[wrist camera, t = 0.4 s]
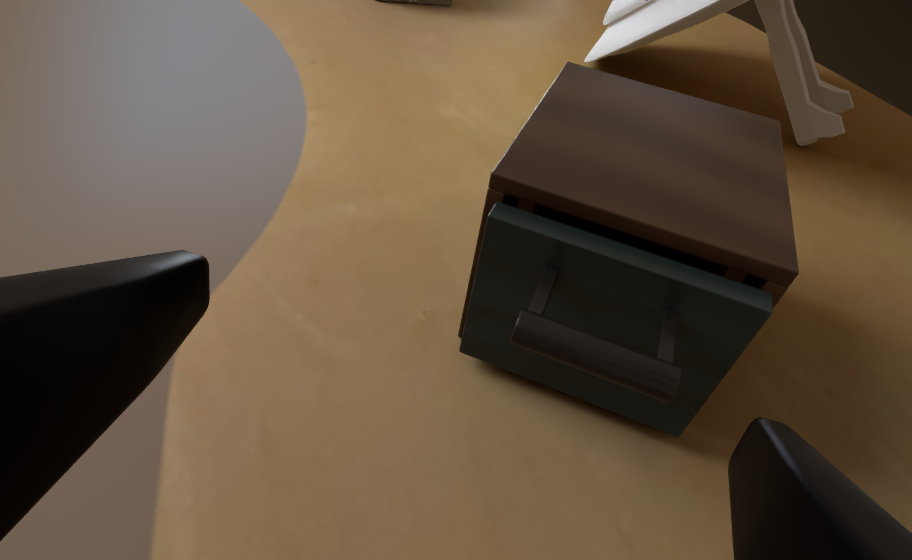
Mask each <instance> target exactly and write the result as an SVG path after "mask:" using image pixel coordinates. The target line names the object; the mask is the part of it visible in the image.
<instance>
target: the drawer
mask: <svg viewBox="0 0 912 560" xmlns="http://www.w3.org/2000/svg"><path fill="white" fill-rule="evenodd" d="M746 276H747V273H744V272H741V271H738V270H735V269H732V268H729V267H726V266H723V265H720V264H717V263H714V262H711V261H708V260H705V259H702V258H699V257H696V256H692V255H689V254H686V253H683V252H680V251H677V250H674V249H671V248H668V247H665V246H662V245H659V244H656V243H653V242H650V241H647V240H644V239H641V238H638V237H635V236H632V235H629V234H626V233H623V232H620V231H617V230H614V229H611V228H608V227H605V226H602V225H599V224H596V223H593V222H590V221H587V220H584V219H581V218H578V217H575V216H572V215H568V214H565V213H562V212H559V211H556V210H553V209H550V208H547V207H544V206H541V205H538V204H535V203H532V202H529V201H526V200H523V199H520V198H519V200H518V204H517V208H515V207H512V206H509V205H506V204H503V203H500V202H496V203H495V205H494V206H493V208H492V210H491V211H490V213H489V215H488V217H487V222H486V226H485V231H484V236H483V240H482V245H481V250H480V255H479V259H478V264H477V269H476V274H475V278H474V283H473V288H472V293H471V297H470V302H469V307H468V311H467V316H466V321H465V326H464V330H463V335H462V340H461V345H460V349H459V351H460V352H462V353H464V354H467V355H469V356H472V357H475V358H477V359H480V360H482V361H485V362H487V363H490V364H492V365H495V366H497V367H500V368H503V369H505V370H508V371H510V372H513V373H515V374H518V375H520V376H523V377H525V378H528V379H531V380H533V381H536V382H538V383H541V384H543V385H546V386H548V387H551V388H554V389H556V390H559V391H561V392H564V393H566V394H569V395H571V396H574V397H576V398H579V399H582V400H584V401H587V402H589V403H592V404H594V405H597V406H599V407H602V408H605V409H607V410H610V411H612V412H615V413H617V414H620V415H622V416H625V417H627V418H630V419H633V420H635V421H638V422H640V423H643V424H645V425H648V426H650V427H653V428H656V429H658V430H661V431H663V432H666V433H668V434H671V435H673V436H676V437H679V436H680V435H681V433H682V432H683V431H684V429H685V428H686V427H687V425H688V424H689V423H690V421H691V420H692V419H693V417H694V416H695V415H696V413H697V412H698V411H699V409H700V408H701V407H702V405H703V404H704V403H705V401H706V400H707V399H708V397H709V396H710V395H711V393H712V392H713V391H714V389H715V388H716V387H717V385H718V384H719V383H720V382H721V380H722V379H723V378H724V376H725V375H726V374H727V372H728V371H729V370H730V368H731V367H732V366H733V364H734V363H735V362H736V360H737V359H738V358H739V356H740V355H741V354H742V352H743V351H744V350H745V348H746V347H747V346H748V344H749V343H750V342H751V340H752V339H753V338H754V336H755V335H756V334H757V332H758V331H759V330H760V329H761V327H762V326H763V325H764V323H765V322H766V321H767V319H768V318H769V317H770V315H771V314H772V312H773V311H772V296H771V293H769V292H766V291H763V290H760V289H757V288H754V287H751V286H748V285H745V284H742V282H743V280H744V279H745V277H746Z"/></svg>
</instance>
